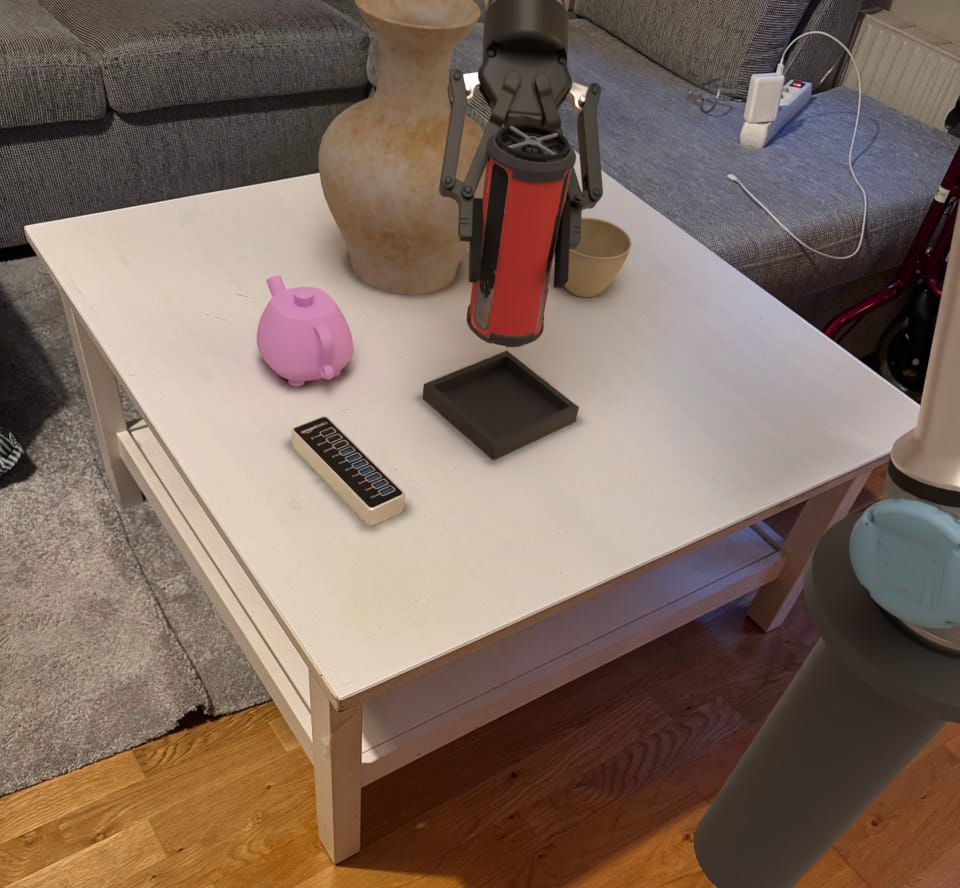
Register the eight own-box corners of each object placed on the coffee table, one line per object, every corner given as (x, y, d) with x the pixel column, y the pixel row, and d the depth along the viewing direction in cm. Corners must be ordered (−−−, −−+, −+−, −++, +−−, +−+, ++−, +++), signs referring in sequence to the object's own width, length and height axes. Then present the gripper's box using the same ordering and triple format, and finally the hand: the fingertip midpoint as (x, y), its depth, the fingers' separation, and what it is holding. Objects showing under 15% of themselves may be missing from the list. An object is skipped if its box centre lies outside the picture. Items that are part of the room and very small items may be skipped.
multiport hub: (369, 527, 91) (370, 510, 89) (290, 445, 97) (289, 428, 95) (405, 510, 93) (406, 493, 91) (326, 431, 99) (325, 414, 97)
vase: (372, 207, 130) (378, -47, 106) (511, 256, 126) (549, 4, 102) (288, 274, 117) (273, 2, 93) (440, 332, 113) (465, 63, 89)
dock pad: (576, 421, 105) (579, 407, 103) (493, 460, 99) (495, 446, 97) (504, 364, 110) (507, 350, 109) (422, 398, 104) (423, 383, 103)
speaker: (450, 319, 91) (469, 128, 77) (507, 297, 94) (536, 112, 80) (500, 359, 88) (530, 168, 73) (558, 335, 91) (597, 148, 77)
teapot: (288, 410, 100) (284, 335, 93) (234, 336, 107) (226, 261, 100) (373, 387, 104) (375, 314, 97) (315, 317, 112) (313, 244, 104)
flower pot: (534, 271, 124) (543, 220, 119) (598, 264, 127) (610, 214, 122) (564, 312, 119) (575, 260, 113) (631, 304, 122) (645, 253, 116)
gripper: (624, 45, 86) (613, 298, 88) (409, 23, 83) (405, 285, 86) (650, 0, 78) (637, 277, 81) (414, -26, 76) (409, 262, 78)
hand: (518, 281), depth 83 cm, fingers closed on speaker, 7 cm apart
